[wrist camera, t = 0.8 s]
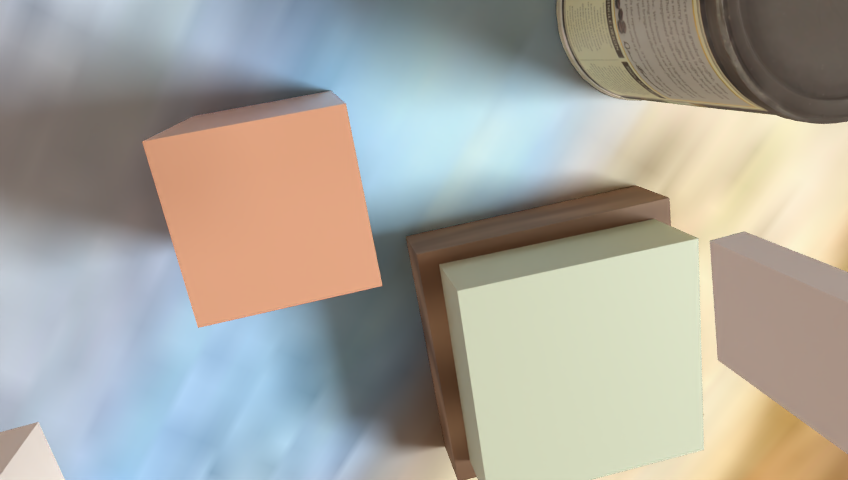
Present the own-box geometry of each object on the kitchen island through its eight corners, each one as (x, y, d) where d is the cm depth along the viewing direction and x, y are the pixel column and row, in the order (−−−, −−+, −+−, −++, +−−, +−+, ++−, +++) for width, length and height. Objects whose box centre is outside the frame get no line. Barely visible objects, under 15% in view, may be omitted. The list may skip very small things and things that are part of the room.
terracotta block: (193, 115, 32) (142, 141, 22) (331, 90, 33) (345, 103, 22) (229, 246, 34) (198, 327, 24) (357, 219, 35) (382, 285, 24)
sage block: (438, 264, 33) (457, 291, 29) (654, 218, 34) (698, 238, 30) (469, 460, 36) (489, 506, 32) (663, 410, 38) (703, 449, 34)
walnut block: (404, 234, 36) (416, 254, 32) (632, 184, 38) (669, 197, 34) (443, 442, 40) (458, 481, 36) (646, 388, 42) (681, 420, 38)
